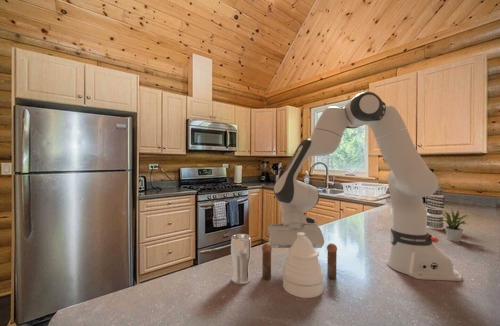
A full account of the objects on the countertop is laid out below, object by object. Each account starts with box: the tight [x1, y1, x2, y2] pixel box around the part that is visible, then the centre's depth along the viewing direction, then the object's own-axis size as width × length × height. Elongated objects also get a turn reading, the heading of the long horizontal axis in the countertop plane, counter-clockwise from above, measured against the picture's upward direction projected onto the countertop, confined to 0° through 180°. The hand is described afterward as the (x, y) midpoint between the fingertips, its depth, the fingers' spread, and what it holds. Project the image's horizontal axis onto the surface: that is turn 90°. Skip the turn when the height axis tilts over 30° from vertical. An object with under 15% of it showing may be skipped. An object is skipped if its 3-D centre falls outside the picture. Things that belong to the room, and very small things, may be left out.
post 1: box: [261, 243, 273, 281], centre depth 83 cm, size 3×3×12 cm
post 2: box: [326, 242, 338, 280], centre depth 83 cm, size 3×3×12 cm
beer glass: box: [230, 233, 252, 285], centre depth 81 cm, size 7×7×15 cm
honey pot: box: [282, 232, 324, 299], centre depth 77 cm, size 13×13×18 cm
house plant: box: [440, 208, 470, 243], centre depth 121 cm, size 14×14×16 cm
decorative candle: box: [425, 186, 446, 231], centre depth 145 cm, size 9×9×25 cm
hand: (298, 259), depth 84 cm, fingers closed, pressing on honey pot
